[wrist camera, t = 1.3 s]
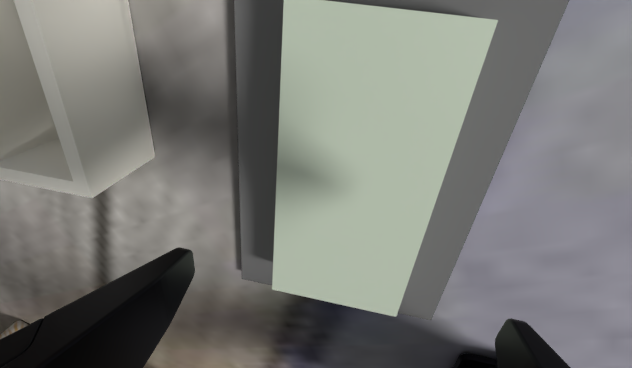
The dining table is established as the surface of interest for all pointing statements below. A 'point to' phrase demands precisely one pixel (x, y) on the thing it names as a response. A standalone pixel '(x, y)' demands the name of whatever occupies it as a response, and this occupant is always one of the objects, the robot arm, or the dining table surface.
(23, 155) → the white rectangular box
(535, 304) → the dining table surface
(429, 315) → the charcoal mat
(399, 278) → the sage lid
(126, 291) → the robot arm
